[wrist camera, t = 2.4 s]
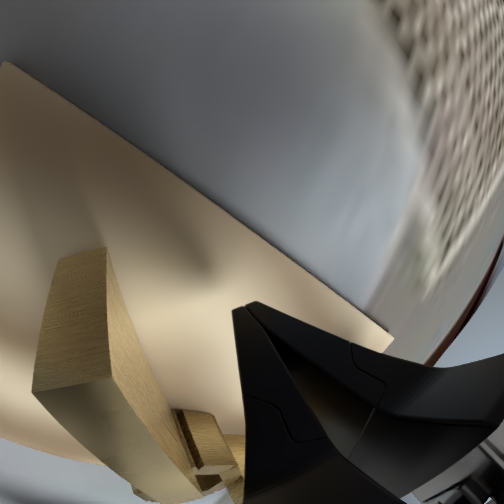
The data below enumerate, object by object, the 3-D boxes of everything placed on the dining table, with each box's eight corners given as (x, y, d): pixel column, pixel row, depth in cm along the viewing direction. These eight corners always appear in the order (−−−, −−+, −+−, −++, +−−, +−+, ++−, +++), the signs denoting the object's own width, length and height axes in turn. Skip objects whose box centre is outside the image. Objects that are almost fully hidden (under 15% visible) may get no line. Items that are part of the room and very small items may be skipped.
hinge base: (262, 457, 19) (291, 503, 15) (109, 449, 11) (129, 527, 8) (308, 420, 18) (344, 468, 14) (149, 401, 11) (182, 499, 7)
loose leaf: (138, 416, 11) (166, 506, 7) (58, 259, 7) (31, 392, 3) (170, 408, 11) (204, 497, 8) (107, 246, 7) (112, 376, 4)
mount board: (249, 464, 20) (252, 470, 20) (-63, 395, 6) (-65, 404, 6) (389, 333, 19) (394, 338, 18) (11, 63, 4) (4, 60, 4)
